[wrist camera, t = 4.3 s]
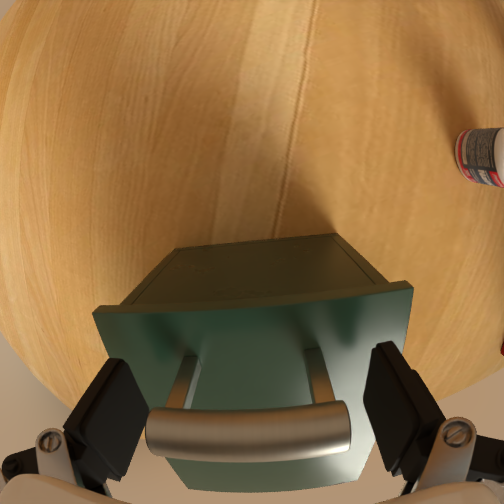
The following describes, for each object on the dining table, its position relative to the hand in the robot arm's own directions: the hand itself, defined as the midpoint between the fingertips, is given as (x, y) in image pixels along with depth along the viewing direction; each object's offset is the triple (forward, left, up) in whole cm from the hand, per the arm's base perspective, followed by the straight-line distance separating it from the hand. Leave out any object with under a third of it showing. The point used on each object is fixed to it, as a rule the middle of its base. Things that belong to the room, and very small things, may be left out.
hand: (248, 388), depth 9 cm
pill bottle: (-8, +22, -14) cm, 28 cm away
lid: (+6, 0, -2) cm, 7 cm away
